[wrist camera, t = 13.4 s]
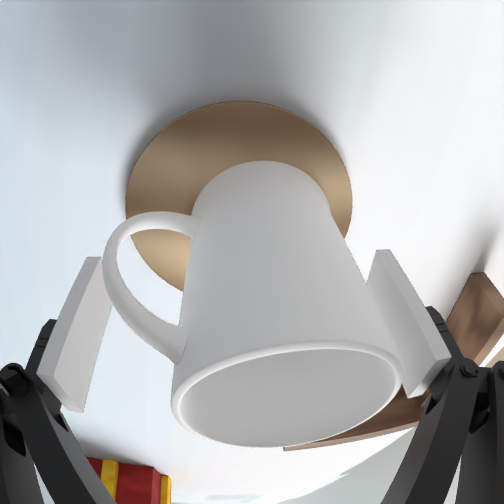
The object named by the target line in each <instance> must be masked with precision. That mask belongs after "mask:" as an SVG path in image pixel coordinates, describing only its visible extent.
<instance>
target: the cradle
mask: <svg viewBox="0 0 504 504" xmlns="http://www.w3.org/2000/svg"><path fill="white" fill-rule="evenodd" d="M445 324H446V325H447V327H448V329H449V332H451V334H452V336H453V338H454V340H455V342H456V343H457V345H458V347H459V349H460V351H461V353H462V355H463V356H464V358H469V359H471V360H473V361H474V362H475V363H476V364H477V365H478V367H479V365H480V364H481V363H482V362H483V360H484V359H485V358H486V357H487V355H488V354H489V353H490V351H491V350H492V349H493V347H494V346H495V345H496V343H497V342H498V340H499V339H500V338H501V336H502V335H503V333H504V298H503V297H502V295H501V294H500V292H499V291H498V290H497V288H496V287H495V286H494V284H493V283H492V282H491V281H490V279H489V278H488V277H487V275H486V274H485V273H484V272H483V273H472V274H471V275H470V277H469V279H468V281H467V283H466V285H465V287H464V289H463V291H462V293H461V295H460V297H459V299H458V300H457V302H456V304H455V306H454V308H453V310H452V312H451V313H450V315H449V317H448V319H447V320H446V322H445ZM430 394H431V392H430V390H429V387H428V388H427V390H426V391H425V392H424V393H423V395H419V396H416V397H412V398H407V395H406V393H405V390H404V387H403V385H402V384H401V386H400V389H399V390H398V392H397V394H396V395H395V396H394V398H393V399H392V400H391V401H390V402H389V403H388V404H387V405H386V406H385V407H384V408H383V409H382V410H381V411H379V412H378V413H377V414H375V415H374V416H373V417H371V418H370V419H368V420H366V421H365V422H363V423H361V424H359V425H358V426H356V427H354V428H352V429H349V430H347V431H345V432H342V433H340V434H337V435H335V436H332V437H329V438H326V439H322V440H319V441H315V442H311V443H306V444H301V445H295V446H288V447H283V450H284V451H292V450H301V449H309V448H317V447H323V446H330V445H336V444H342V443H348V442H353V441H358V440H363V439H368V438H373V437H377V436H381V435H386V434H390V433H394V432H398V431H401V430H405V429H409V428H412V427H416V426H418V424H419V421H420V418H421V416H422V413H423V410H424V408H425V405H426V404H425V405H424V406H423V407H421V405H422V403H423V402H424V401H425V400H426V398H427V397H428V396H429V395H430Z"/></svg>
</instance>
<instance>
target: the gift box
mask: <svg viewBox="0 0 504 504" xmlns="http://www.w3.org/2000/svg"><path fill="white" fill-rule="evenodd" d="M86 458H87V459H88V461H89V463H90V464H91V466H92V468H93V469H94V471H95V472H96V474H97V475H98V477H99V479H100V480H101V482H102V483H103V485H104V486H105V487H106V489H107V490H108V492H109V493H110V495H111V496H112V497H113V499H114V500H115V502H116V503H117V504H171V478H170V477H169V476H164V475H161V474H160V473H159V472H158V471H157V470H156V469H155V468H154V467H148V466H139V465H131V464H124V463H119V462H117V461H115V460H109V459H103V460H99V459H94V458H89V457H86Z"/></svg>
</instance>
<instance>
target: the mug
mask: <svg viewBox="0 0 504 504" xmlns="http://www.w3.org/2000/svg"><path fill="white" fill-rule="evenodd" d="M147 229H167V230H173V231H177V232H180V233H183V234H185V235H187V236H189V237H190V238H191V245H190V251H189V257H188V264H187V270H186V277H185V283H184V290H183V297H182V305H181V312H180V320H179V326H176V325H174V324H171V323H168V322H166V321H164V320H162V319H160V318H159V317H157V316H156V315H154V314H153V313H151V312H150V311H149V310H148V309H146V308H145V307H144V306H143V305H142V304H141V303H140V302H139V301H138V300H137V299H136V298H135V297H134V296H133V294H132V293H131V292H130V291H129V289H128V288H127V286H126V285H125V283H124V281H123V279H122V277H121V275H120V272H119V269H118V265H117V257H116V256H117V249H118V247H119V245H120V243H121V242H122V241H123V240H124V239H125V238H126V237H128V236H129V235H131V234H133V233H135V232H138V231H142V230H147ZM102 268H103V278H104V283H105V287H106V290H107V293H108V295H109V297H110V300H111V302H112V303H113V305H114V307H115V309H116V310H117V312H118V313H119V315H120V316H121V318H122V319H123V320H124V321H125V323H126V324H127V325H128V326H129V327H130V328H131V329H132V330H133V331H134V332H135V333H136V334H137V335H138V336H139V337H140V338H141V339H143V340H144V341H145V342H146V343H148V344H149V345H150V346H152V347H153V348H155V349H156V350H158V351H159V352H161V353H162V354H164V355H165V356H167V357H168V358H169V359H170V360H171V361H172V362H173V363H174V371H173V381H172V392H171V409H172V413H173V415H174V417H175V418H176V420H177V421H178V422H179V423H180V424H181V425H182V426H183V427H184V428H185V429H187V430H188V431H190V432H191V433H193V434H195V435H197V436H199V437H202V438H204V439H207V440H210V441H213V442H216V443H220V444H225V445H230V446H237V447H246V448H278V447H288V446H295V445H301V444H306V443H311V442H315V441H319V440H322V439H326V438H329V437H332V436H335V435H337V434H340V433H342V432H345V431H347V430H349V429H352V428H354V427H356V426H358V425H359V424H361V423H363V422H365V421H366V420H368V419H370V418H371V417H373V416H374V415H375V414H377V413H378V412H379V411H381V410H382V409H383V408H384V407H385V406H386V405H387V404H388V403H389V402H390V401H391V400H392V399H393V398H394V396H395V395H396V394H397V392H398V390H399V389H400V386H401V384H402V380H403V368H402V365H401V362H400V359H399V357H398V354H397V352H396V349H395V347H394V345H393V342H392V340H391V337H390V335H389V333H388V331H387V328H386V326H385V324H384V321H383V319H382V317H381V315H380V313H379V310H378V308H377V306H376V304H375V302H374V299H373V297H372V295H371V293H370V291H369V289H368V287H367V285H366V282H365V280H364V278H363V276H362V274H361V272H360V270H359V268H358V266H357V264H356V262H355V260H354V258H353V256H352V254H351V252H350V250H349V248H348V246H347V244H346V242H345V240H344V238H343V236H342V234H341V233H340V231H339V229H338V227H337V225H336V223H335V221H334V219H333V217H332V215H331V212H330V207H329V203H328V201H327V198H326V196H325V194H324V192H323V191H322V189H321V188H320V186H319V185H318V184H317V183H316V182H315V181H314V180H313V179H312V178H311V177H310V176H309V175H308V174H306V173H305V172H303V171H302V170H300V169H298V168H296V167H294V166H291V165H288V164H285V163H281V162H276V161H251V162H246V163H242V164H239V165H236V166H233V167H231V168H229V169H227V170H225V171H223V172H222V173H220V174H219V175H217V176H216V177H215V178H213V179H212V180H211V181H210V182H209V183H208V184H207V185H206V186H205V187H204V189H203V190H202V191H201V193H200V194H199V196H198V198H197V199H196V202H195V204H194V207H193V210H192V214H191V216H189V215H185V214H180V213H175V212H165V211H156V212H147V213H142V214H138V215H136V216H133V217H131V218H129V219H127V220H126V221H124V222H123V223H121V224H120V225H119V226H118V227H117V228H116V229H115V231H114V232H113V233H112V235H111V236H110V238H109V240H108V242H107V245H106V247H105V251H104V255H103V264H102Z"/></svg>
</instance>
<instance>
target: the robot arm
mask: <svg viewBox="0 0 504 504" xmlns="http://www.w3.org/2000/svg"><path fill="white" fill-rule="evenodd" d="M102 264H103V262H102V259H101V257H87V258H86V260H85V262H84V264H83V266H82V268H81V270H80V272H79V274H78V276H77V278H76V280H75V282H74V284H73V286H72V288H71V290H70V292H69V295H68V297H67V299H66V301H65V303H64V306H63V308H62V310H61V312H60V315H59V317H58V319H57V320H55V319H49V320H48V322H47V323H46V324H45V325H44V326H43V327H42V329H41V331H40V334H39V336H38V339H37V341H36V343H35V347H34V348H33V351H32V353H31V356H30V358H29V361H28V363H27V366H26V369H25V370H24V369H23V367H22V366H21V365H19V364H18V363H10V364H7V365H6V366H5V367H3V368H2V369H1V371H0V387H1V388H0V504H44V501H43V498H42V494H41V491H40V487H39V484H38V480H37V475H36V471H35V467H34V463H35V466H36V468H37V470H38V472H39V474H40V476H41V478H42V480H43V482H44V484H45V486H46V488H47V490H48V491H49V494H50V496H51V497H52V499H53V501H54V503H55V504H117V503H116V502H115V500H114V499H113V497H112V496H111V495H110V493H109V492H108V490H107V489H106V487H105V486H104V485H103V483H102V482H101V480H100V479H99V477H98V475H97V474H96V472H95V471H94V469H93V468H92V466H91V464H90V463H89V461H88V459H87V458H86V456H85V454H84V453H83V451H82V449H81V448H80V446H79V444H78V442H77V440H76V439H75V437H74V435H73V433H72V431H71V429H70V428H69V426H68V424H67V422H66V420H65V418H64V416H63V414H62V413H61V411H60V408H61V405H62V404H63V406H64V407H65V408H66V409H67V410H70V411H75V412H81V413H83V412H84V408H85V403H86V399H87V395H88V390H89V386H90V382H91V378H92V374H93V371H94V367H95V363H96V359H97V356H98V352H99V349H100V345H101V342H102V338H103V335H104V331H105V328H106V325H107V322H108V318H109V315H110V312H111V309H112V306H113V303H112V302H111V300H110V297H109V295H108V293H107V290H106V287H105V283H104V278H103V268H102ZM366 285H367V287H368V289H369V291H370V293H371V295H372V297H373V299H374V302H375V304H376V306H377V308H378V310H379V313H380V315H381V317H382V319H383V321H384V324H385V326H386V328H387V331H388V333H389V335H390V337H391V340H392V342H393V345H394V347H395V349H396V352H397V354H398V357H399V359H400V362H401V365H402V368H403V380H402V385H403V387H404V390H405V393H406V395H407V398H412V397H416V396H419V395H423V393H424V392H425V391H426V390H427V388H428V387H429V390H430V392H431V394H430V395H429V396H428V397H427V398H426V400H425V401H424V402H423V403H422V405H421V407H423V406H424V405H425V404H426V405H425V408H424V410H423V413H422V416H421V418H420V421H419V424H418V426H417V429H416V431H415V434H414V436H413V438H412V441H411V443H410V446H409V448H408V450H407V452H406V454H405V457H404V459H403V461H402V463H401V465H400V467H399V469H398V472H397V474H396V476H395V478H394V480H393V482H392V484H391V485H390V487H389V489H388V491H387V493H386V495H385V497H384V499H383V501H382V502H381V504H443V503H444V501H445V498H446V496H447V493H448V491H449V488H450V486H451V483H452V480H453V478H454V475H455V472H456V469H457V466H458V463H459V460H460V457H461V466H460V474H459V482H458V489H457V495H456V502H455V504H504V361H498V362H497V363H495V365H494V366H493V367H492V368H486V367H478V365H477V364H476V363H475V362H474V361H473V360H471V359H469V358H464V356H463V355H462V353H461V351H460V349H459V347H458V345H457V343H456V342H455V340H454V338H453V336H452V334H451V332H449V329H448V327H447V325H446V324H445V322H444V320H443V318H442V317H441V315H440V313H439V312H437V311H436V310H435V309H434V308H433V307H432V306H429V307H425V306H424V304H423V303H422V301H421V299H420V297H419V296H418V294H417V292H416V291H415V289H414V287H413V286H412V284H411V282H410V281H409V279H408V277H407V276H406V274H405V273H404V271H403V269H402V268H401V266H400V265H399V263H398V261H397V260H396V258H395V257H394V255H393V254H392V252H391V251H390V249H388V250H376V253H375V256H374V260H373V263H372V267H371V270H370V273H369V276H368V280H367V283H366ZM461 454H462V456H461ZM33 461H34V462H33Z"/></svg>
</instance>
